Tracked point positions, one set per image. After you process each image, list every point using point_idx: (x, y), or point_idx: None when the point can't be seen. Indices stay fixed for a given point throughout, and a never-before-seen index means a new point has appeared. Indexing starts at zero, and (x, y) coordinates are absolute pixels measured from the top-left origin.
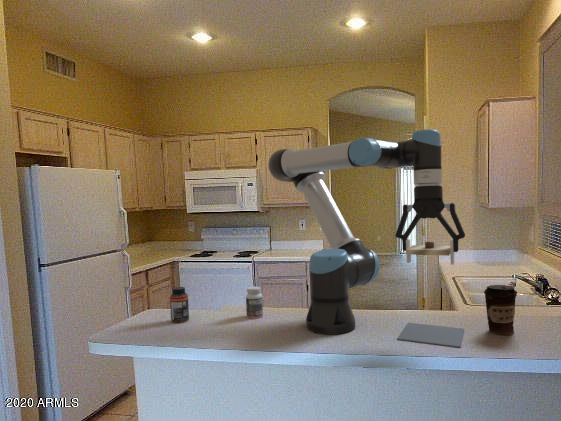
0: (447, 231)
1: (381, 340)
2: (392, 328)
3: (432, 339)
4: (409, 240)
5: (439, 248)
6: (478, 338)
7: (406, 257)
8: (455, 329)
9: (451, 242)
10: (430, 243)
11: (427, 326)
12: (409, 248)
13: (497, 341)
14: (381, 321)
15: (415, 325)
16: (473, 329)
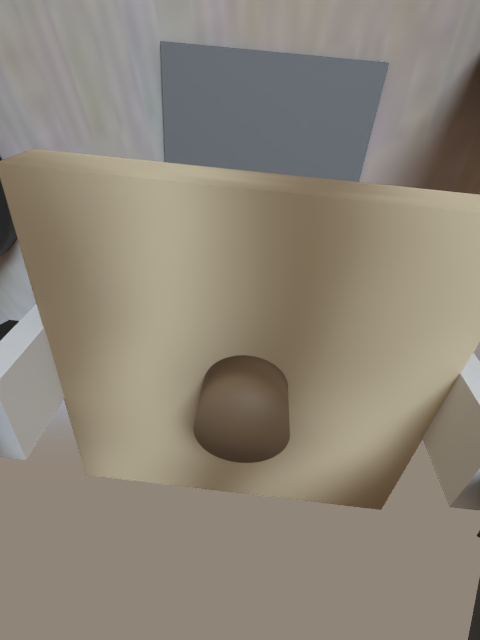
0: (472, 627)
1: None
2: (125, 138)
3: None
4: (15, 420)
5: (329, 438)
6: (410, 167)
7: None
8: (349, 91)
9: (456, 491)
10: (253, 452)
11: (243, 82)
12: (87, 432)
13: (463, 181)
14: (51, 44)
15: (197, 83)
16: (427, 45)
